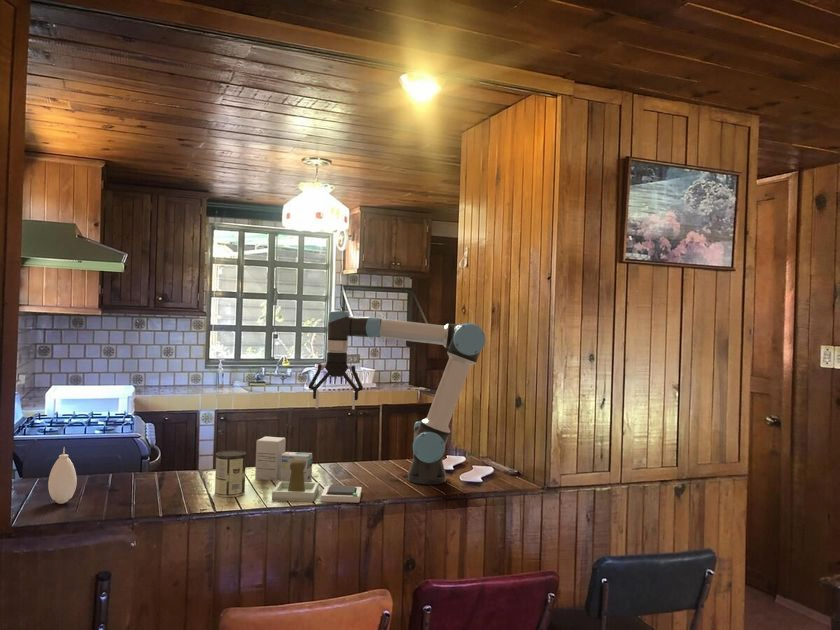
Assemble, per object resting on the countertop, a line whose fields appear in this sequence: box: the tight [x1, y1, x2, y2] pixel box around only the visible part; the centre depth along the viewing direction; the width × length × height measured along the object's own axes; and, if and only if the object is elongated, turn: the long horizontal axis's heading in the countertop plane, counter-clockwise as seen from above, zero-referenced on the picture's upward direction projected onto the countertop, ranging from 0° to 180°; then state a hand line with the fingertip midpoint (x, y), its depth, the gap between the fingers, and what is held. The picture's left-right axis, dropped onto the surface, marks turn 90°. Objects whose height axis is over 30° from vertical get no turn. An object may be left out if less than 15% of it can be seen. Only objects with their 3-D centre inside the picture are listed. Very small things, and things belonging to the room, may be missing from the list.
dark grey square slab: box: [328, 484, 357, 495], centre depth 229 cm, size 9×9×2 cm
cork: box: [288, 461, 305, 492], centre depth 229 cm, size 6×6×11 cm
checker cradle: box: [320, 485, 362, 503], centre depth 229 cm, size 13×13×3 cm
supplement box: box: [254, 436, 287, 481], centre depth 253 cm, size 9×9×15 cm
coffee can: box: [214, 450, 247, 498], centre depth 228 cm, size 10×10×14 cm
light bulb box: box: [279, 451, 313, 482], centre depth 248 cm, size 11×7×11 cm, turn 84°
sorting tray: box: [271, 480, 320, 503], centre depth 229 cm, size 14×14×3 cm
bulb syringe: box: [47, 446, 78, 505], centre depth 210 cm, size 8×8×18 cm
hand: (335, 408), depth 245 cm, fingers open, 13 cm apart
